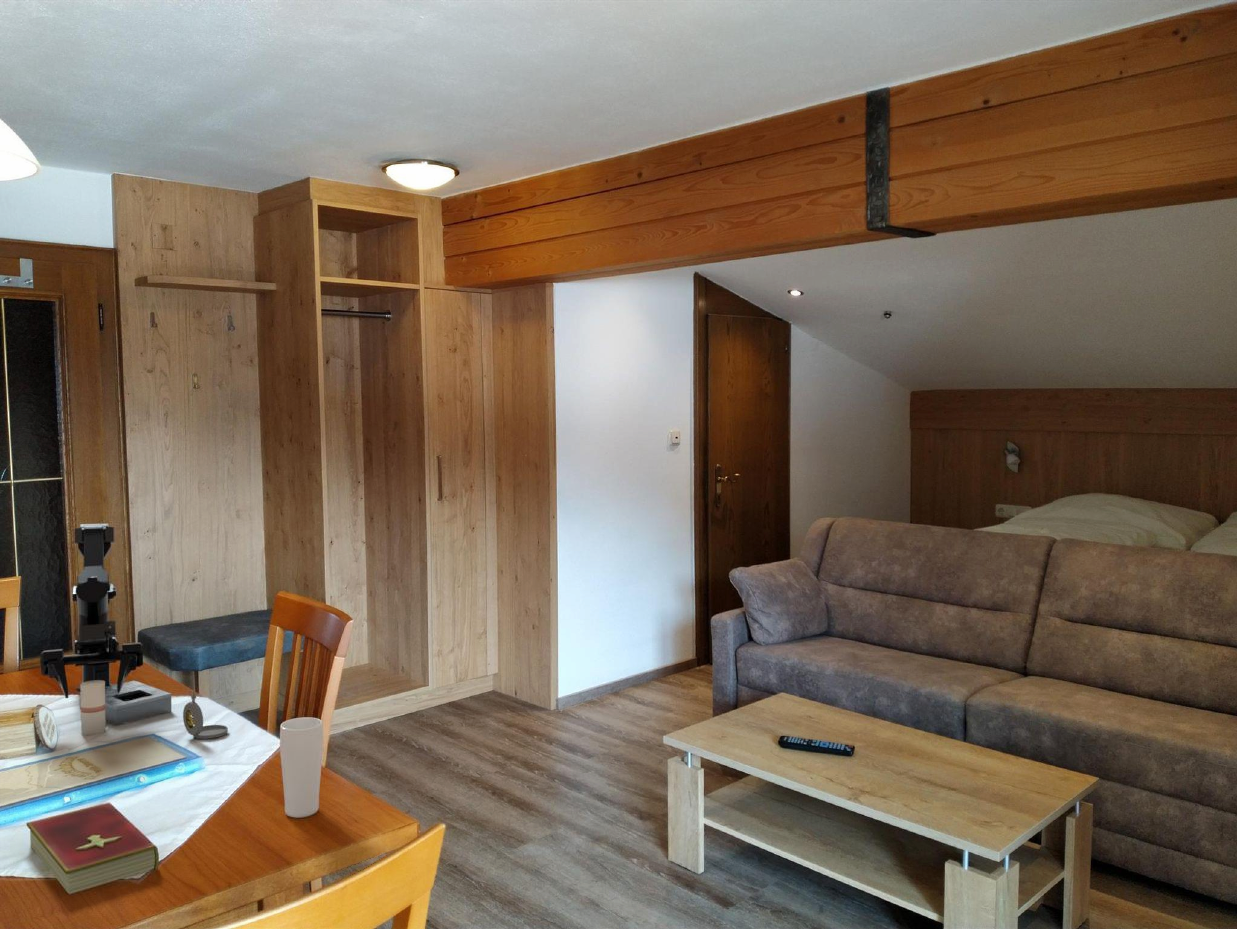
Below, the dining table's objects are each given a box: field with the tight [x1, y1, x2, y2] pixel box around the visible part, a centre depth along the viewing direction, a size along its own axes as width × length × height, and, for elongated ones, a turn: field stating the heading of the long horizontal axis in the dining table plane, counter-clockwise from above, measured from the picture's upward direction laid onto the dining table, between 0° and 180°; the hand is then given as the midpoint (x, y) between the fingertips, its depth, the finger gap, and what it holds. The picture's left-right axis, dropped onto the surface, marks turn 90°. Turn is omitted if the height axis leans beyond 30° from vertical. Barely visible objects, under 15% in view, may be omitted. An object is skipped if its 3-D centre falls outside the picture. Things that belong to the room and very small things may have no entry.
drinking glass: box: [279, 716, 324, 819], centre depth 159 cm, size 7×7×15 cm
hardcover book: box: [26, 802, 160, 895], centre depth 143 cm, size 12×21×4 cm, turn 44°
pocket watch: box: [182, 690, 229, 740], centre depth 196 cm, size 8×8×10 cm
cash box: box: [79, 680, 172, 726], centre depth 211 cm, size 16×12×4 cm
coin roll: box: [79, 680, 107, 736], centre depth 198 cm, size 4×4×10 cm
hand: (92, 694), depth 197 cm, fingers open, 9 cm apart
